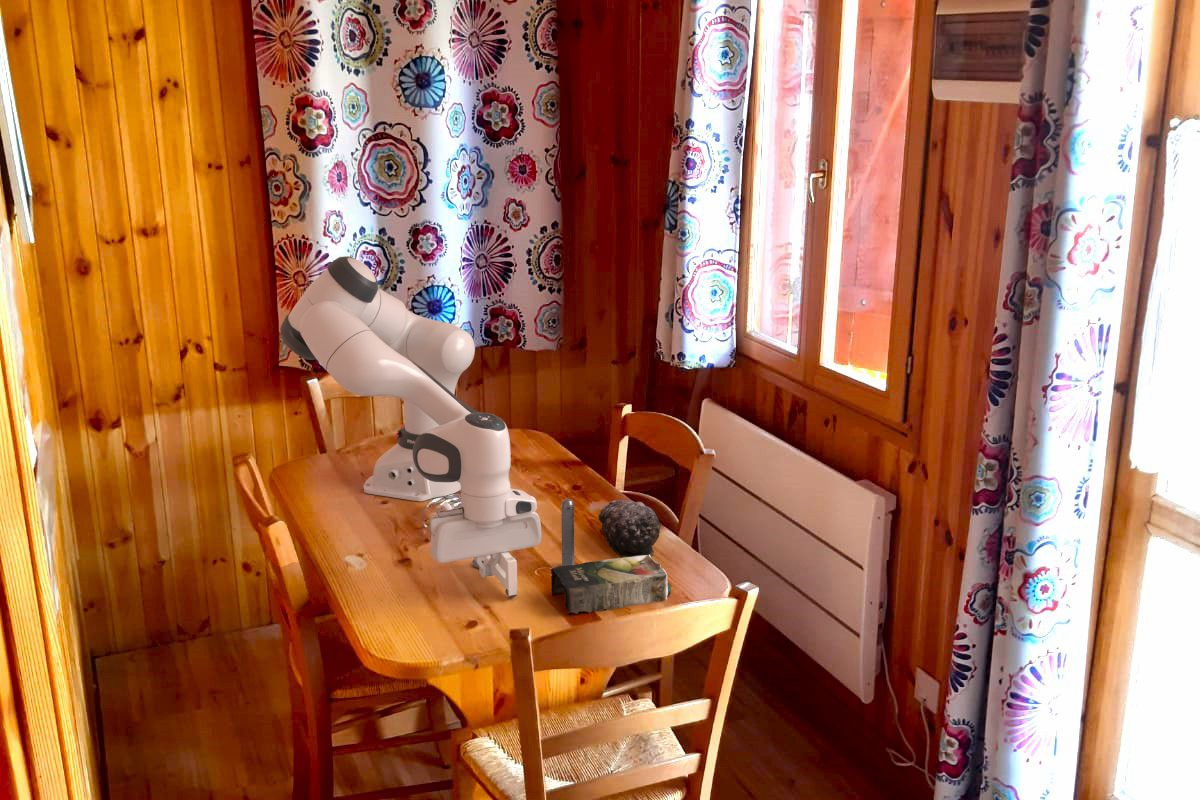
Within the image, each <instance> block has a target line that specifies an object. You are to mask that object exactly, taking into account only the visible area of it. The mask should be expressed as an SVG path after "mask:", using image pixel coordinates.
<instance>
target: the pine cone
mask: <svg viewBox="0 0 1200 800" xmlns="http://www.w3.org/2000/svg"><path fill="white" fill-rule="evenodd" d="M656 514H657V513H656V512H655V510H653V509H652V508H651V507H649V506H647V505H645V504H644V503H643V502H642V501H636V502H635V501H633V500H630V499H621V500H620V499H615V500H611V501H610V502H609V503H608V504H606V505H604V506H603V507H602V509H601V511H600V512H599V513H598V517H597V518H598V521H599V522H600V523H601V526H602V527H601V531H602V532H601V533H602V534H603V535H604V536H605V540H606V544H607V546H609V547H610V549H612V552H614V554H616V555H617V556H619V557H620V558H625V557H634V556H643V555H650V557H652V556H654V553H655V551H654V549H653V546H654V545H655V543H657V541H658V539H659V537H660V532H661V531H660V530H661V527H660V526H661V525H660V521H659V518H658V516H657V515H656Z"/></svg>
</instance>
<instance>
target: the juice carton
mask: <svg viewBox="0 0 1200 800" xmlns="http://www.w3.org/2000/svg"><path fill="white" fill-rule="evenodd" d="M550 570H551V571H550V573H551V576H550V577H551V584H550V585H551V596H553V597H555V596H554V594H555V595H557V594H562V593H564V595H565V596H564V598H565V599H564V606H565V608H566V611H567V613H568V615H570V616H571V613H573V614H574V613H575V615H577V614H579V612H587V613H589V614H590V613H592V612H602V611H603V612H604V611H605V610H608V611H611V610H615V609H622V608H626V607H632V606H638V605H643V604H651V603H658V602H664V601H667V600H668V597H670V595H671V594H672V587H671V584H670V583H669V582H668V574H667V572H666V570H665V569H664V568H663V567H662V566H661V564H660V563H659V562H658V561H656V560H655V559H654V558H652V556H650V555H643V556H634V557H617V558H609V559H608V558H607V559H602V560H595V561H586V562H582V563H578V564H577V563H576V564H574V565H566V566H562V565H559V566H556V567H551V568H550Z"/></svg>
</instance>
